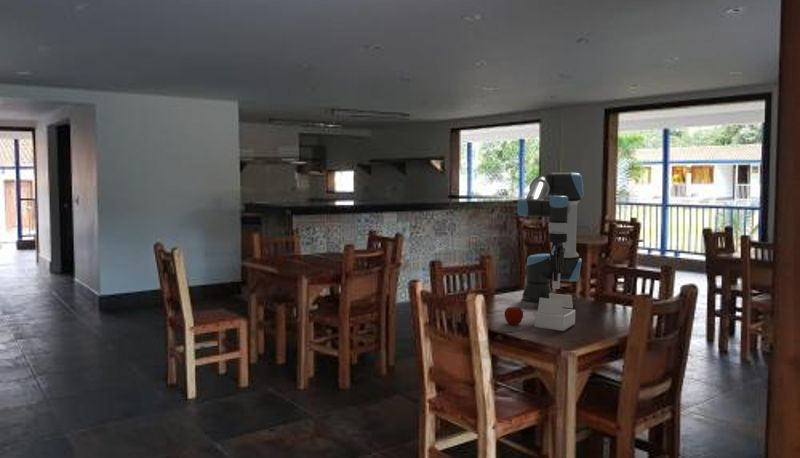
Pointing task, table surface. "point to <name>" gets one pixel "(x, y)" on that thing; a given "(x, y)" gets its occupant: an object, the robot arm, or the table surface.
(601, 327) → the table surface
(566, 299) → the flap
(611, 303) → the table surface
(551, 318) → the carton
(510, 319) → the apple
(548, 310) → the flap
